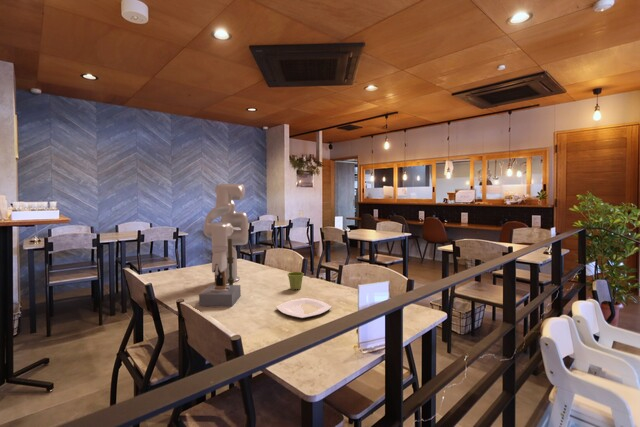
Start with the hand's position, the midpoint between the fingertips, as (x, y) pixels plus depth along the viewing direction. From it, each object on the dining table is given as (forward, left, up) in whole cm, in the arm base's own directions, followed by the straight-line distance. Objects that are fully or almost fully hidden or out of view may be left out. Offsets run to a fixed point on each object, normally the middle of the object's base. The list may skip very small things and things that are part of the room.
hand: (220, 284), depth 171 cm
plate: (+12, +43, -9) cm, 45 cm away
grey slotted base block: (0, 0, -9) cm, 9 cm away
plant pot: (-22, +36, -9) cm, 43 cm away
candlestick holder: (-18, 0, -9) cm, 20 cm away
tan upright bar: (0, 0, -7) cm, 7 cm away
